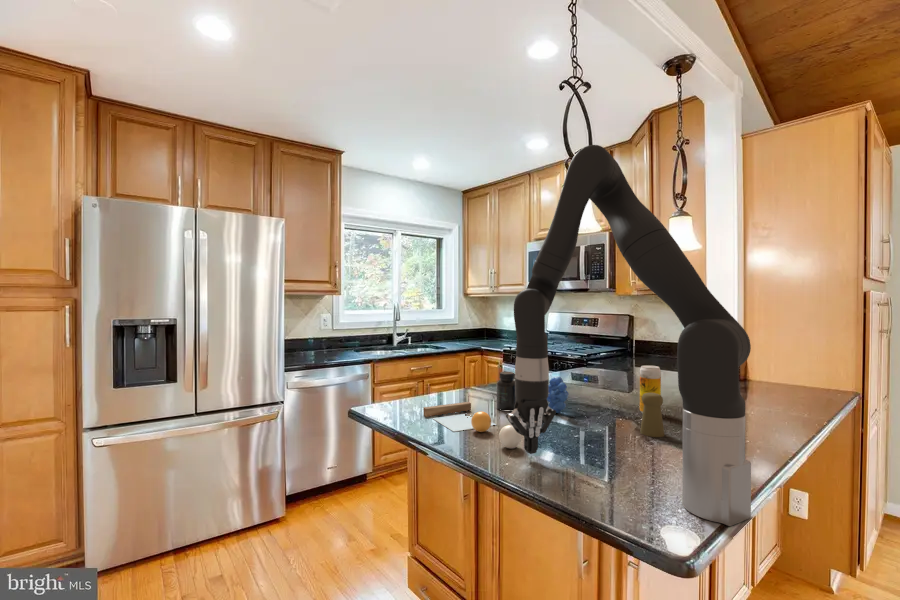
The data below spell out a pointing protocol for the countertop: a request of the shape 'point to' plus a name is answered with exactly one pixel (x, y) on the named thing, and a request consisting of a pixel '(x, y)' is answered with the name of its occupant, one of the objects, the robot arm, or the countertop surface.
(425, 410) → the wooden stick
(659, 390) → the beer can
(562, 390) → the grapes
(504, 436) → the cue ball
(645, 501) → the countertop surface
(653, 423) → the olive tall flared piece
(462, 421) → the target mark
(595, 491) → the countertop surface
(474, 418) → the orange ball
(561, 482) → the countertop surface
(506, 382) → the supplement bottle
